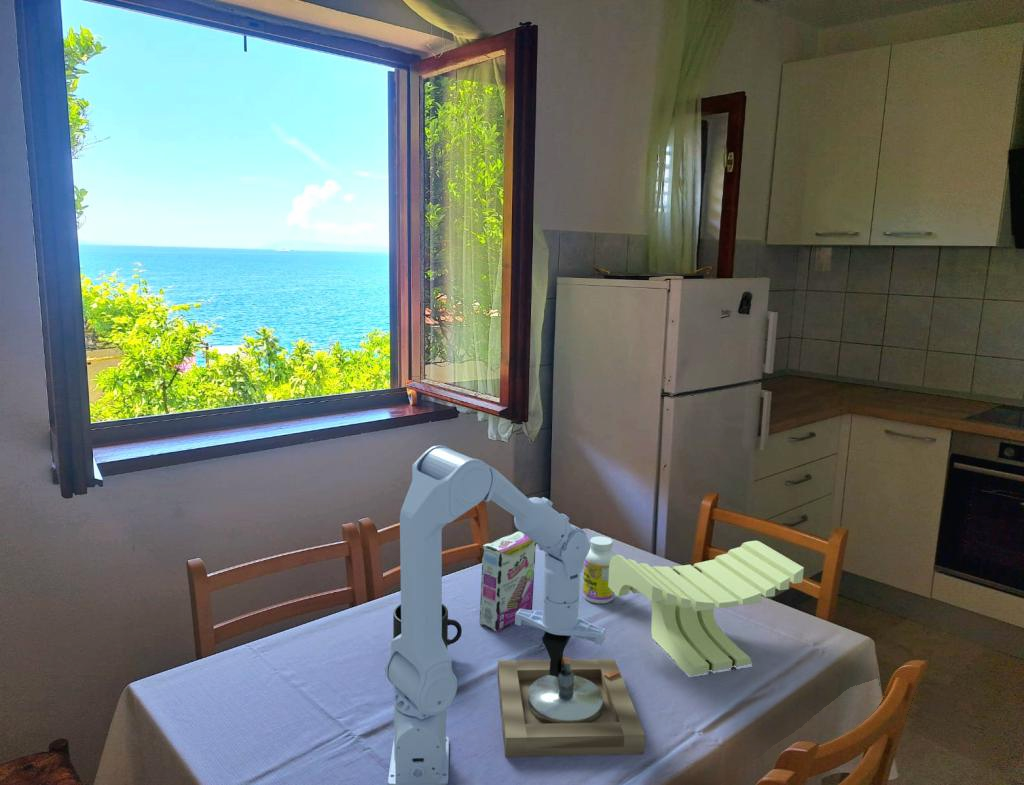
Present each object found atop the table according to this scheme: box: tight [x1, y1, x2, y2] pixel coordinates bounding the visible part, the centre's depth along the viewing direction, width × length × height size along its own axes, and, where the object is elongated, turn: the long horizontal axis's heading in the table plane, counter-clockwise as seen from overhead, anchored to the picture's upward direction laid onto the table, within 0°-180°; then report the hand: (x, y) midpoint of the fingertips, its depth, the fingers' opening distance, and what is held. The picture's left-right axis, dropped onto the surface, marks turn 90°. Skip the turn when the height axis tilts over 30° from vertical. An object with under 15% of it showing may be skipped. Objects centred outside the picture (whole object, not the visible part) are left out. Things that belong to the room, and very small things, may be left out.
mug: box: [392, 603, 463, 649], centre depth 124 cm, size 9×12×9 cm
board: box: [496, 658, 646, 758], centre depth 111 cm, size 20×20×4 cm
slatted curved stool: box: [608, 540, 805, 676], centre depth 130 cm, size 30×16×18 cm, turn 108°
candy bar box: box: [479, 530, 537, 633], centre depth 139 cm, size 11×5×16 cm, turn 141°
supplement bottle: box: [582, 536, 617, 605], centre depth 149 cm, size 7×7×13 cm
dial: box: [528, 656, 603, 724], centre depth 111 cm, size 12×12×5 cm
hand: (556, 673), depth 115 cm, fingers closed, pressing on dial
